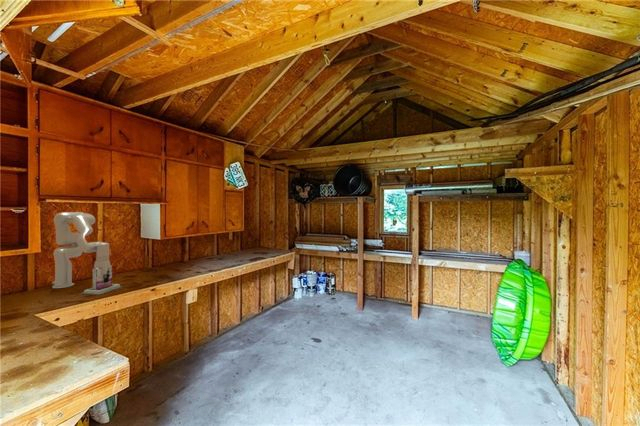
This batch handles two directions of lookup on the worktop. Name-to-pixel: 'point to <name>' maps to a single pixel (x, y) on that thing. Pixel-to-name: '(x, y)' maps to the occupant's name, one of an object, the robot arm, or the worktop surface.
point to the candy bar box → (100, 279)
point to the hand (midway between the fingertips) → (102, 281)
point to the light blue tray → (101, 290)
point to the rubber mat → (103, 292)
